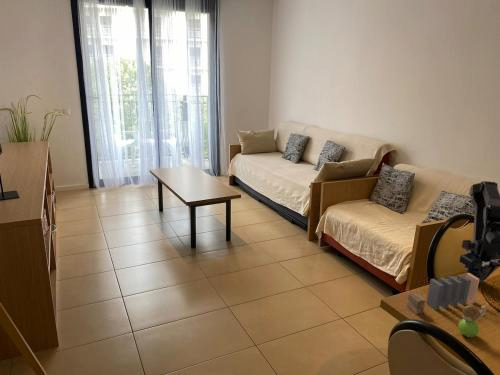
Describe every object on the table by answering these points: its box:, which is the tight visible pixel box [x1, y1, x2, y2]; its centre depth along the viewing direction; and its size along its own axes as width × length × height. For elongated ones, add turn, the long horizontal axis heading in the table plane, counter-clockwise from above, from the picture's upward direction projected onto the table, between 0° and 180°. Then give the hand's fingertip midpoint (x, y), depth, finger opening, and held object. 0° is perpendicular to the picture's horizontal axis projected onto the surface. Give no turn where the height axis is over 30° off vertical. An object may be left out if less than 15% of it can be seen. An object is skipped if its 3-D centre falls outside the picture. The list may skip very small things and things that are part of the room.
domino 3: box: [447, 275, 462, 308], centre depth 131 cm, size 1×4×10 cm, turn 16°
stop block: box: [406, 292, 426, 315], centre depth 127 cm, size 3×4×5 cm
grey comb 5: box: [425, 278, 444, 311], centre depth 129 cm, size 1×4×10 cm, turn 16°
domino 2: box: [438, 277, 453, 309], centre depth 130 cm, size 1×4×10 cm, turn 16°
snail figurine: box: [457, 301, 489, 338], centre depth 114 cm, size 5×6×12 cm
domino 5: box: [465, 272, 480, 305], centre depth 133 cm, size 1×4×10 cm, turn 16°
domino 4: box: [456, 273, 471, 306], centre depth 132 cm, size 1×4×10 cm, turn 16°
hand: (482, 280), depth 133 cm, fingers closed
